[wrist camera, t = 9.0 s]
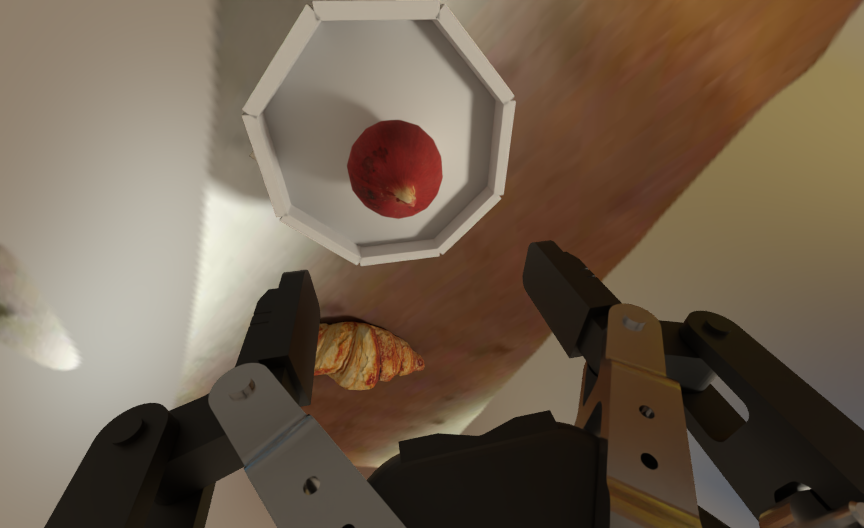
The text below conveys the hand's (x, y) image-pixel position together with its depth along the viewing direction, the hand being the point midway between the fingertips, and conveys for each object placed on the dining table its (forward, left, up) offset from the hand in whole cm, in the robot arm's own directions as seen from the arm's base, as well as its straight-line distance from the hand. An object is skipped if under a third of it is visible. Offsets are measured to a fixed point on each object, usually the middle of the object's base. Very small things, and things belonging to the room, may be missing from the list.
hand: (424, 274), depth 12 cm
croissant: (+28, -7, -22) cm, 36 cm away
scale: (0, 0, -22) cm, 22 cm away
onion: (0, 0, -14) cm, 14 cm away
